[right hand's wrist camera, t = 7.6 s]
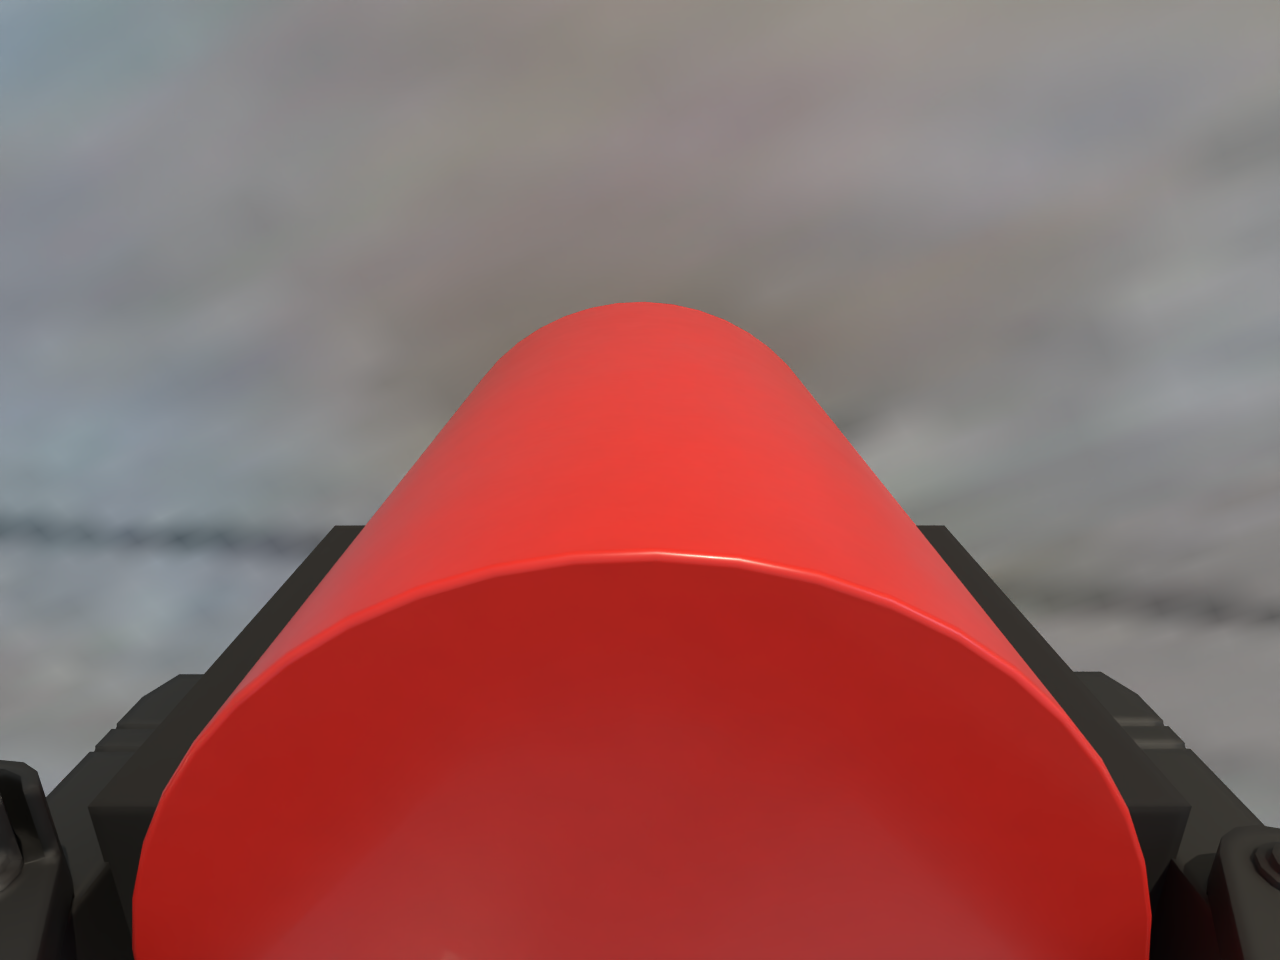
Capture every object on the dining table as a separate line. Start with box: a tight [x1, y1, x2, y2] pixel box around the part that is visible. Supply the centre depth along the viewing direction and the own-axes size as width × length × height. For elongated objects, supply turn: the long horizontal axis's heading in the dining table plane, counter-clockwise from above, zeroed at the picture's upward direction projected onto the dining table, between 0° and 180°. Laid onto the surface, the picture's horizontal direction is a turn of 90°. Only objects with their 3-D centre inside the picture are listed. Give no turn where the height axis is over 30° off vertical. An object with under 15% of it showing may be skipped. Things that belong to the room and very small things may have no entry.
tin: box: [132, 302, 1152, 960], centre depth 13 cm, size 9×9×12 cm
